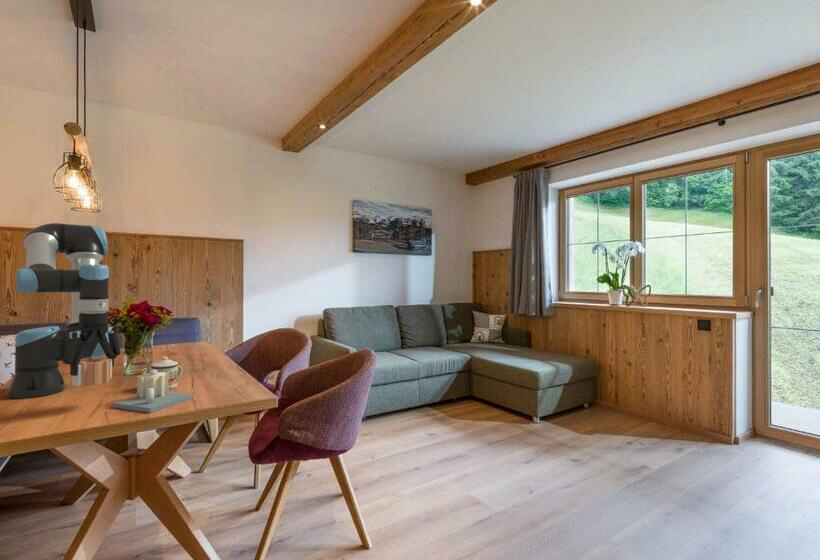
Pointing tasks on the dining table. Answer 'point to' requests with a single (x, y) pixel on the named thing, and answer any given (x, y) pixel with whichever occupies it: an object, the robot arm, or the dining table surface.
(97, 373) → the loose gear
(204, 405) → the dining table surface
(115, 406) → the gear board
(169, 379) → the teacup with lid
